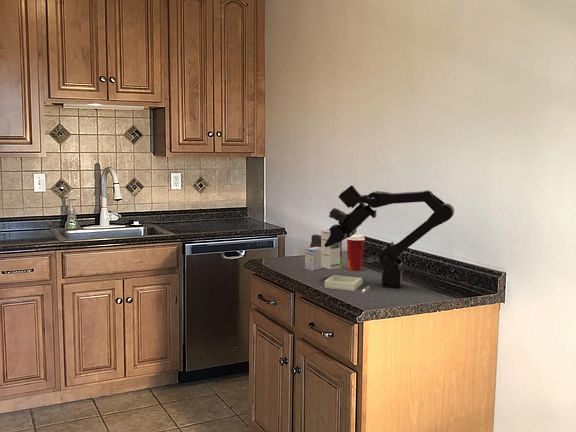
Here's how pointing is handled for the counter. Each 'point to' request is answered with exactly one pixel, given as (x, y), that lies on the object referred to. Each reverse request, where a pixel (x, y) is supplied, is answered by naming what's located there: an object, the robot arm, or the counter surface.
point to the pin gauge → (365, 289)
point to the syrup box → (330, 252)
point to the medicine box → (313, 258)
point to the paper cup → (355, 252)
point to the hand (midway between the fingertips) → (328, 244)
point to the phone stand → (315, 241)
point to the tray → (343, 282)
